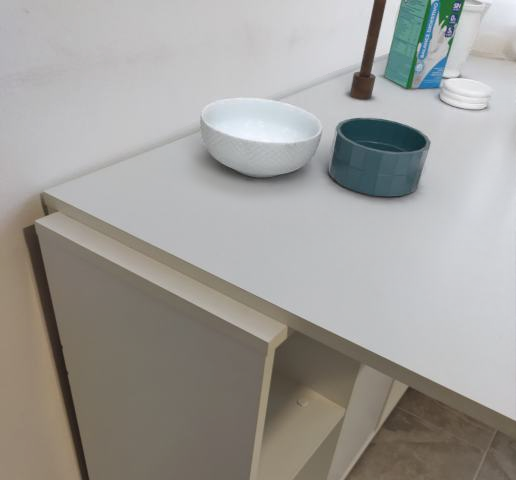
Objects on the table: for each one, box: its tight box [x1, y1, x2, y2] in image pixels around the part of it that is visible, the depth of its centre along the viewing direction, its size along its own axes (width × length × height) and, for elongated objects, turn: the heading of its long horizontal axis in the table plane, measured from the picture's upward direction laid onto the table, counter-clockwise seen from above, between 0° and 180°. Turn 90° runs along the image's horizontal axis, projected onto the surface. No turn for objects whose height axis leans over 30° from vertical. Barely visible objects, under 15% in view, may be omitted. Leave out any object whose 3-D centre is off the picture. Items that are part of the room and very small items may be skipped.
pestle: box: [349, 0, 387, 101], centre depth 102 cm, size 4×4×20 cm
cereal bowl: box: [199, 97, 323, 179], centre depth 76 cm, size 17×17×7 cm
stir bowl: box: [328, 117, 432, 197], centre depth 77 cm, size 13×13×6 cm
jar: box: [442, 0, 487, 79], centre depth 124 cm, size 11×10×15 cm
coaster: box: [439, 77, 493, 110], centre depth 111 cm, size 10×10×4 cm
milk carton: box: [383, 0, 465, 90], centre depth 112 cm, size 9×9×25 cm
